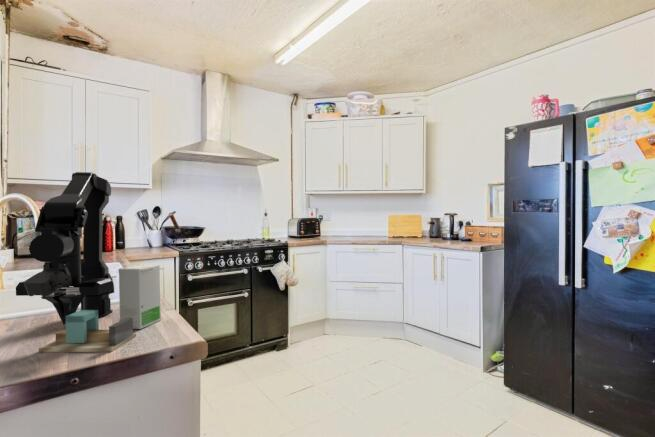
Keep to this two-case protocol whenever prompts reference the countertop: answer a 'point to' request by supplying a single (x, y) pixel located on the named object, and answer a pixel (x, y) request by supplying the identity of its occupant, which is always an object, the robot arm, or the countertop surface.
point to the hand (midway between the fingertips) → (66, 324)
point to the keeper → (80, 325)
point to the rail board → (81, 346)
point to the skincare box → (140, 294)
